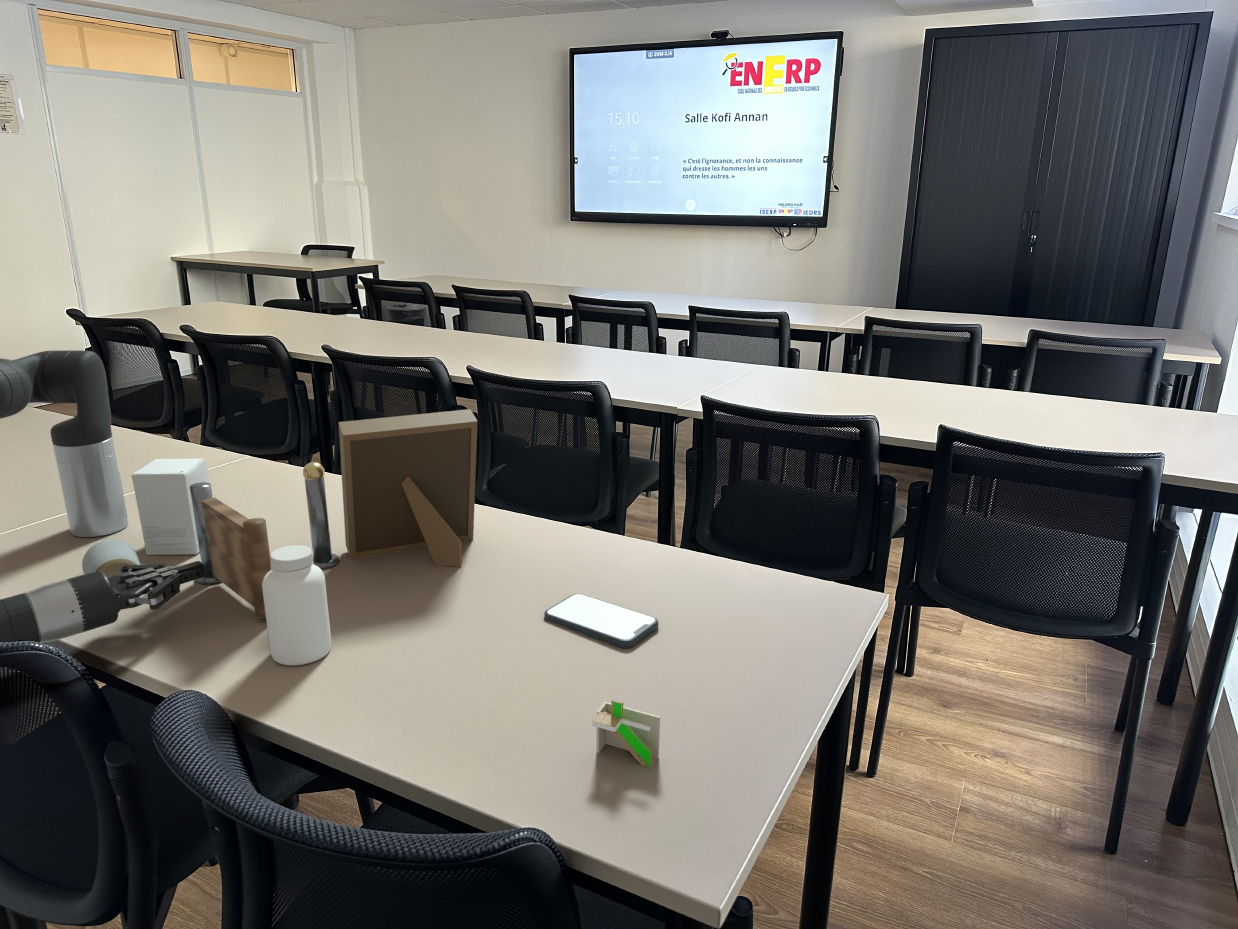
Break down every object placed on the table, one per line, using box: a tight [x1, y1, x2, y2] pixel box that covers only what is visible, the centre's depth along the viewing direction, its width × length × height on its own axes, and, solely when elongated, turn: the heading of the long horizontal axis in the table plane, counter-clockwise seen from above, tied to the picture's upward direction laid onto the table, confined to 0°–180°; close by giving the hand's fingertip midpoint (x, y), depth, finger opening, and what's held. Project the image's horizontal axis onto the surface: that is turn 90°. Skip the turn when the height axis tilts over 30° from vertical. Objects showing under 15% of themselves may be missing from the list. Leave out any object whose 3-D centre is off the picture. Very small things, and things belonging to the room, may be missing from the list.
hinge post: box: [190, 482, 222, 585], centre depth 137 cm, size 5×5×16 cm
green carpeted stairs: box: [591, 699, 661, 768], centre depth 95 cm, size 4×7×8 cm, turn 66°
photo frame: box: [338, 408, 479, 568], centre depth 144 cm, size 15×22×25 cm
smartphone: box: [543, 593, 659, 650], centre depth 127 cm, size 9×2×16 cm
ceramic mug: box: [81, 539, 147, 578], centre depth 134 cm, size 11×8×8 cm
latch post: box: [302, 461, 340, 570], centre depth 142 cm, size 5×5×18 cm
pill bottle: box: [262, 544, 332, 666], centre depth 115 cm, size 8×8×15 cm
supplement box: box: [131, 458, 210, 556], centre depth 149 cm, size 9×9×15 cm
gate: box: [201, 496, 271, 619], centre depth 129 cm, size 18×3×14 cm, turn 46°
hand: (203, 568), depth 126 cm, fingers closed
